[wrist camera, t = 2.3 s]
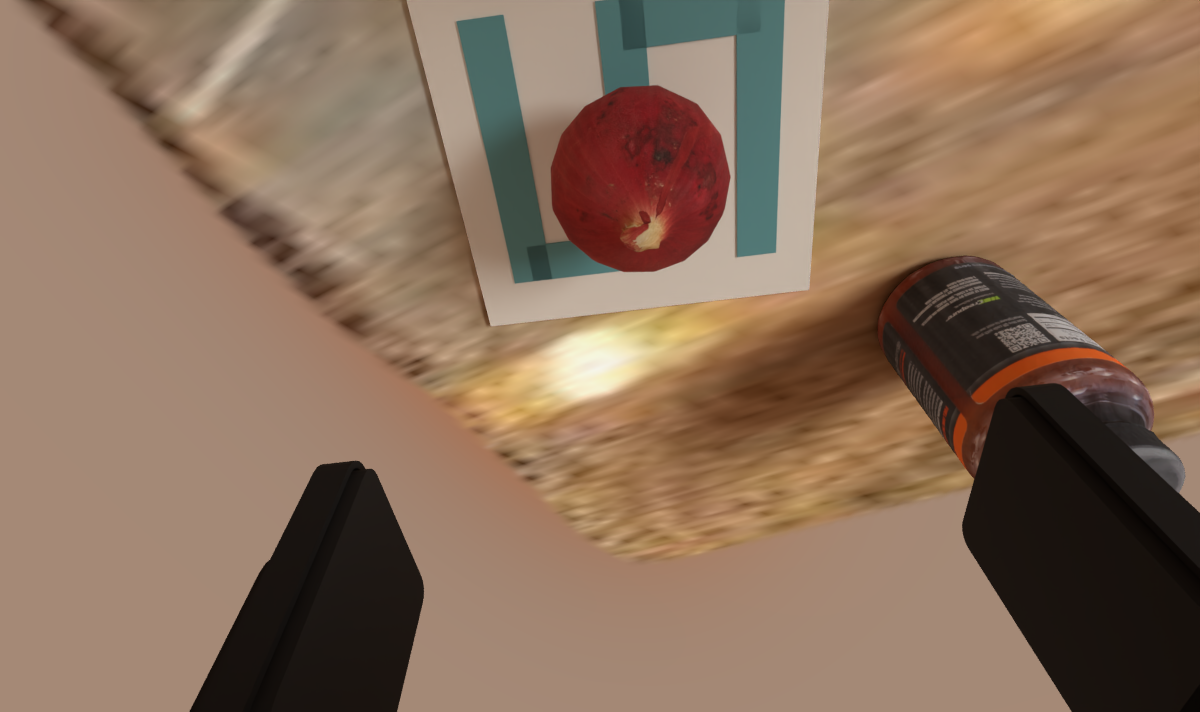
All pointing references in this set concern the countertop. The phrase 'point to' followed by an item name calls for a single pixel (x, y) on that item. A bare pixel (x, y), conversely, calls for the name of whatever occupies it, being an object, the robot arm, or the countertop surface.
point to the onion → (640, 179)
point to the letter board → (592, 70)
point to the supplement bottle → (1004, 358)
